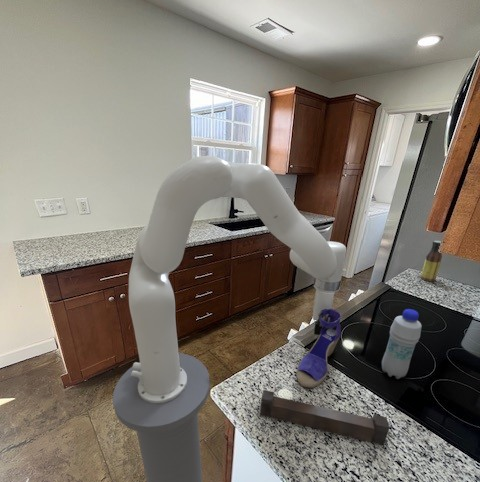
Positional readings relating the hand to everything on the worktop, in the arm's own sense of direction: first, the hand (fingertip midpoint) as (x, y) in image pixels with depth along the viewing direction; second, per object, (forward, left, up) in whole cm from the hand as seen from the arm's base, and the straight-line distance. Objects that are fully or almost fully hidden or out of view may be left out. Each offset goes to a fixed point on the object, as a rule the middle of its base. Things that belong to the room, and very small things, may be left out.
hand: (319, 333), depth 87 cm
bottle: (+20, -10, -2) cm, 23 cm away
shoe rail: (0, -32, -2) cm, 32 cm away
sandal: (0, -13, -2) cm, 13 cm away
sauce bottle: (+53, +65, -2) cm, 84 cm away
